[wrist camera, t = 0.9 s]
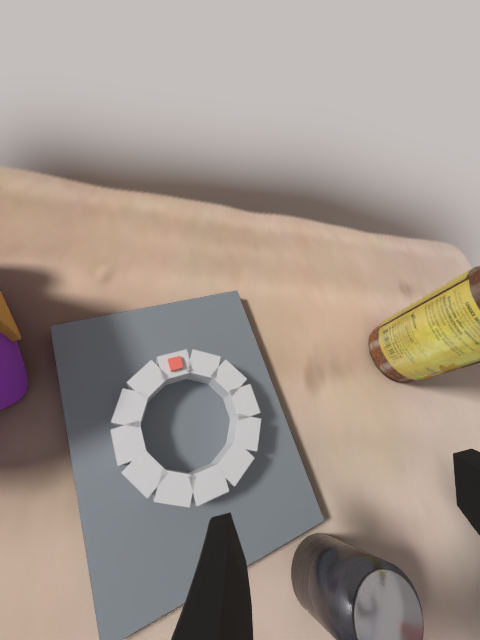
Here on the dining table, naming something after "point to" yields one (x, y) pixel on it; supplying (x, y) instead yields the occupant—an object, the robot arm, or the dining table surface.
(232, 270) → the dining table surface
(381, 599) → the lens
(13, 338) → the toy camera
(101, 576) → the mount board
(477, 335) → the sauce bottle
